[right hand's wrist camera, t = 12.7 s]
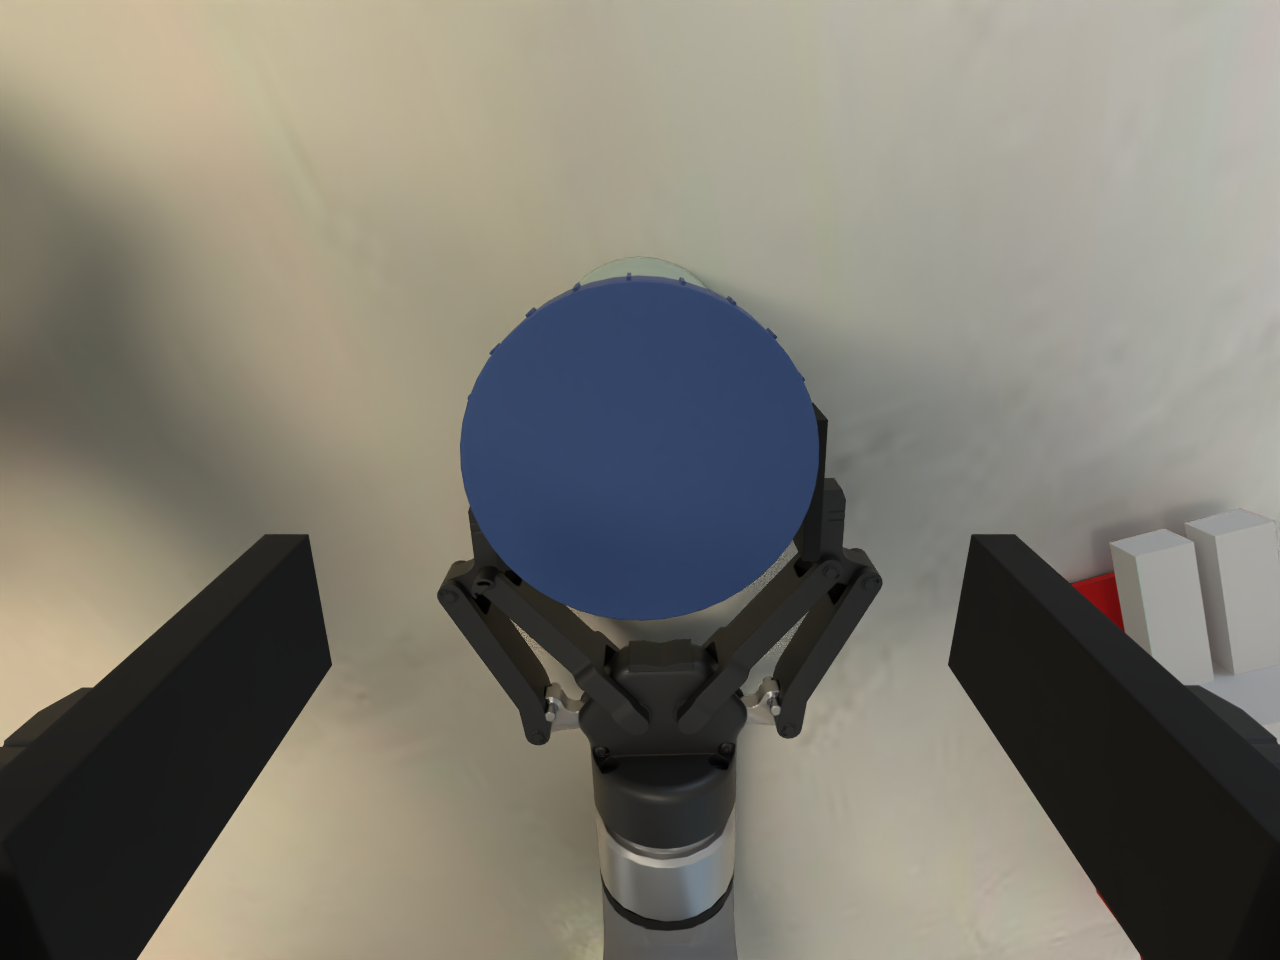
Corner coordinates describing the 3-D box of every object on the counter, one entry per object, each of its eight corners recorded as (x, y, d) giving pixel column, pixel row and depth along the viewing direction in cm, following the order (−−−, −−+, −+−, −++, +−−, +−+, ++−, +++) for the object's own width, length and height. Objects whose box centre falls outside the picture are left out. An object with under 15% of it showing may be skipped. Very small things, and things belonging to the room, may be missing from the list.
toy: (1437, 534, 29) (1478, 1097, 36) (1202, 464, 42) (1262, 885, 49) (1126, 612, 31) (1219, 1141, 37) (992, 521, 44) (1077, 923, 50)
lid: (876, 383, 21) (895, 398, 19) (695, 643, 24) (699, 673, 22) (569, 201, 19) (562, 201, 17) (417, 506, 22) (401, 529, 21)
